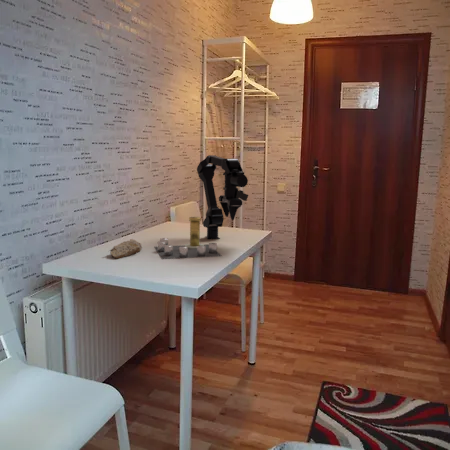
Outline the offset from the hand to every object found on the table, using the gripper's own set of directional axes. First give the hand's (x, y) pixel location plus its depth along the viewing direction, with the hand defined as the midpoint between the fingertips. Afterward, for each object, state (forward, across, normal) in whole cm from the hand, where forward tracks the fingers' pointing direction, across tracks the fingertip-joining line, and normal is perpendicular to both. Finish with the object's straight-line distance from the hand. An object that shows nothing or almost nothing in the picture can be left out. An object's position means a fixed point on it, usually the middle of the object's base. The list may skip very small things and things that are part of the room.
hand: (229, 218), depth 211 cm
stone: (+14, -7, +49) cm, 51 cm away
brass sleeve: (+12, -2, +17) cm, 21 cm away
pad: (+13, -2, +18) cm, 22 cm away
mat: (+13, -10, +23) cm, 28 cm away
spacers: (+13, -13, +26) cm, 31 cm away
